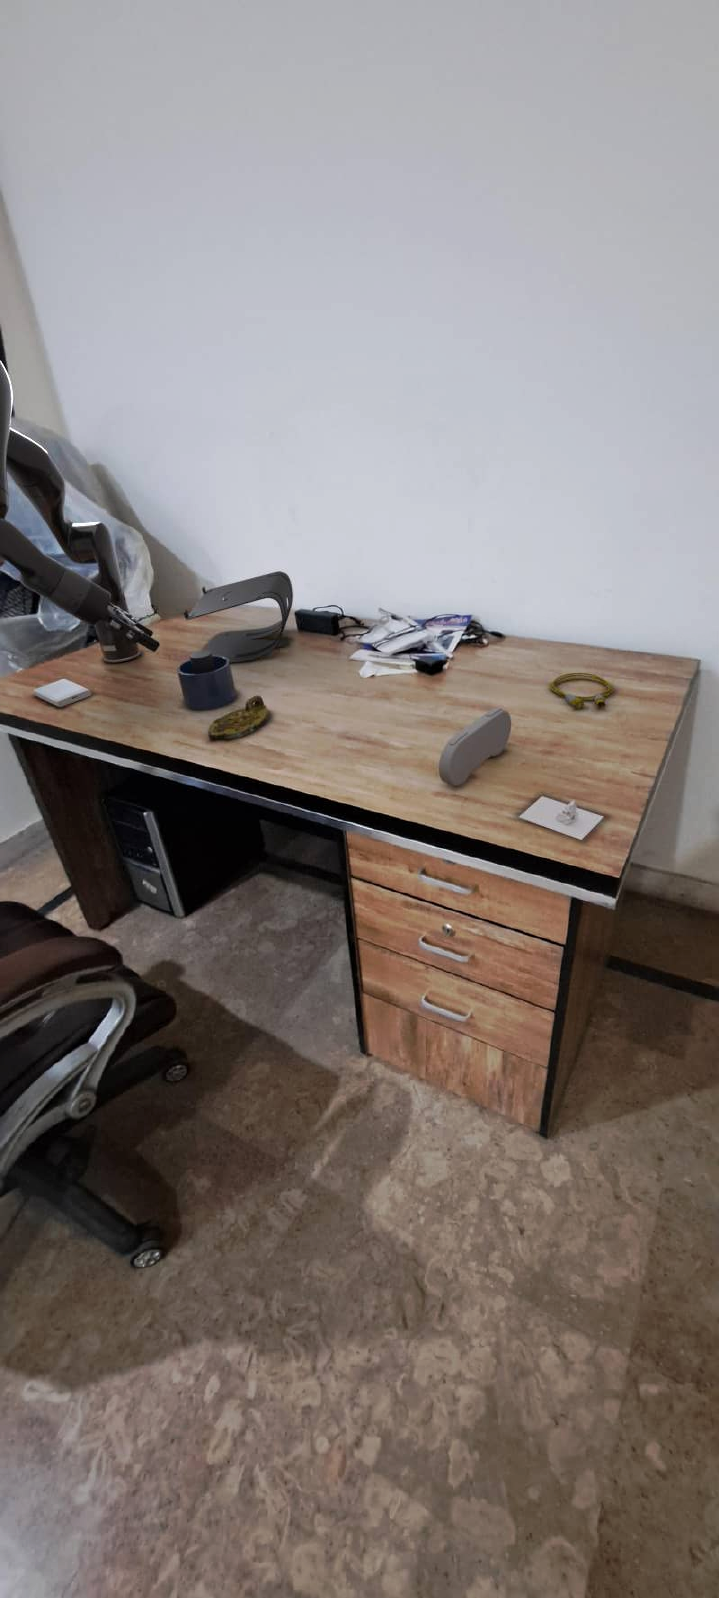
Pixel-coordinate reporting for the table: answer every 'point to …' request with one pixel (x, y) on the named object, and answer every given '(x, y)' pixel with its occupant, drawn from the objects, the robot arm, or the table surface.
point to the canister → (202, 662)
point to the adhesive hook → (561, 817)
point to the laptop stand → (266, 586)
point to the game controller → (474, 746)
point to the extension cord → (577, 701)
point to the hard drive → (62, 692)
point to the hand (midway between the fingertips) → (154, 641)
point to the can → (207, 685)
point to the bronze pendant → (240, 720)
